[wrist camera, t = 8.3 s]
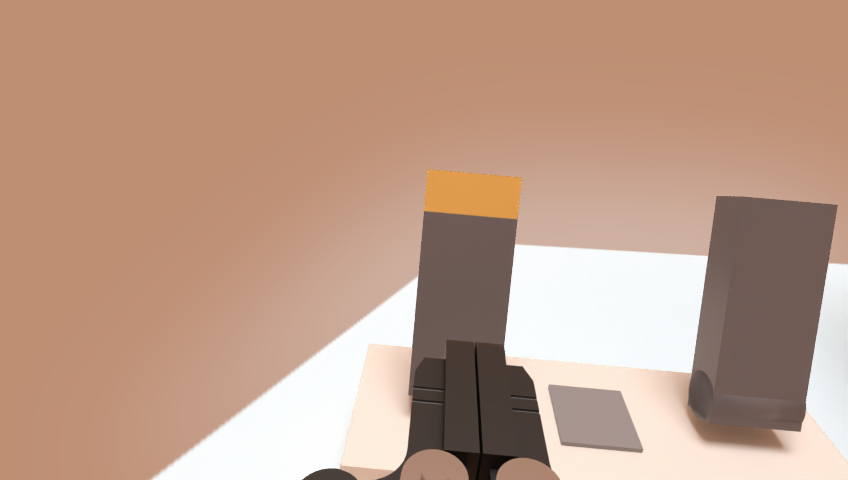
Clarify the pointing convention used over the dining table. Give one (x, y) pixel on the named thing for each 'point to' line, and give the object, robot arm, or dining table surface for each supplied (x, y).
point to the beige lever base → (599, 427)
